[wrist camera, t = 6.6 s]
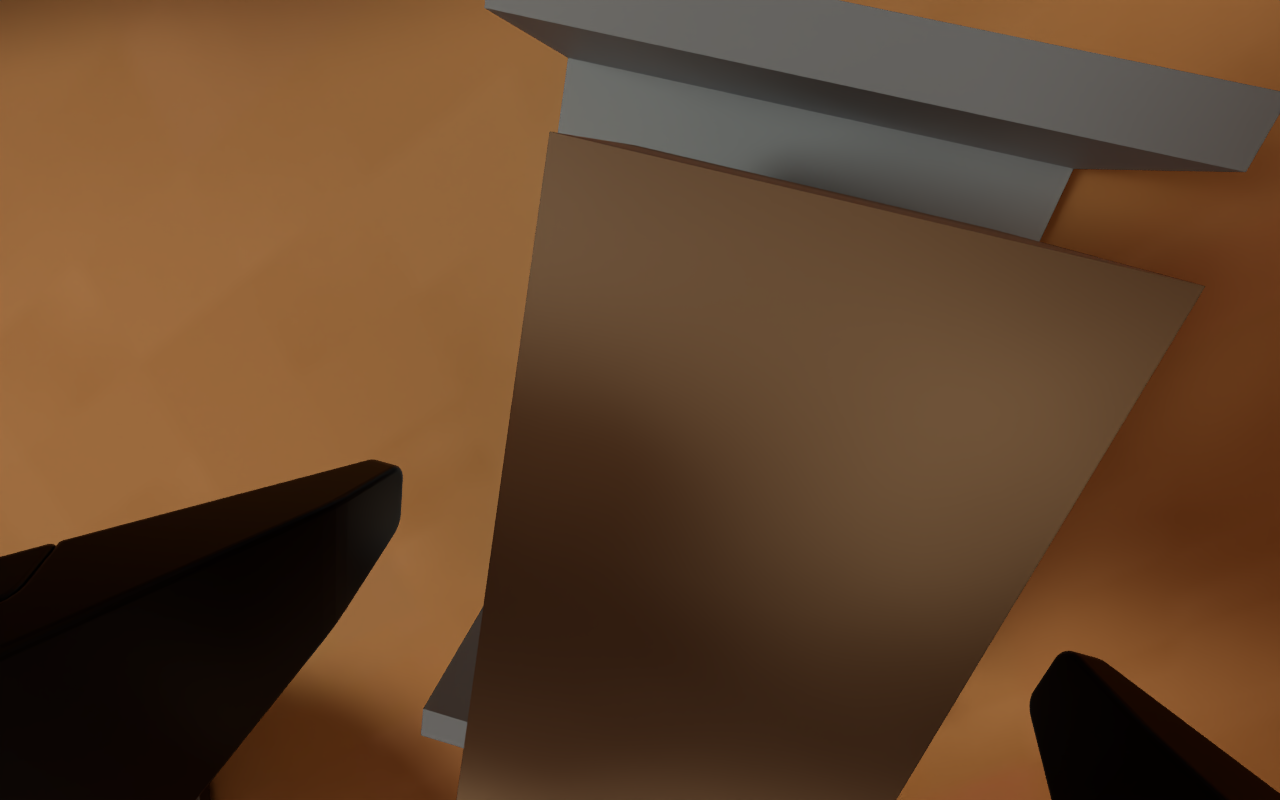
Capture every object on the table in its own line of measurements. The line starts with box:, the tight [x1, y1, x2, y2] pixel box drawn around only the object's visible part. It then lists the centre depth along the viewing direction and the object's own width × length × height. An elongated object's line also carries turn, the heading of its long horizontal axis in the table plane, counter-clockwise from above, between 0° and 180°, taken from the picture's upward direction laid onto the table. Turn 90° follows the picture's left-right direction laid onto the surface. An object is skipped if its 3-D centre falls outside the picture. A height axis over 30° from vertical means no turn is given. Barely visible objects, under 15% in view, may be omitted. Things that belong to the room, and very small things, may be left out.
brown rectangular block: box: [457, 132, 1205, 800], centre depth 8 cm, size 10×5×4 cm, turn 168°
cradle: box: [421, 0, 1280, 748], centre depth 11 cm, size 14×9×4 cm, turn 168°
